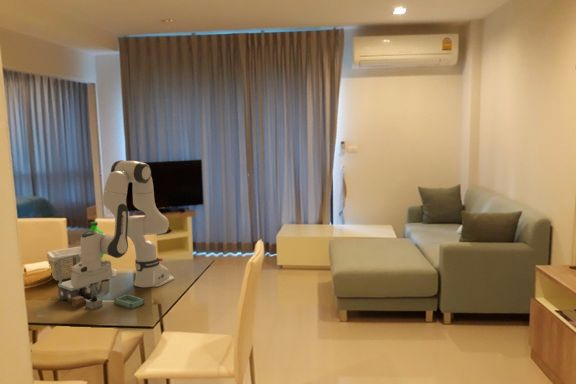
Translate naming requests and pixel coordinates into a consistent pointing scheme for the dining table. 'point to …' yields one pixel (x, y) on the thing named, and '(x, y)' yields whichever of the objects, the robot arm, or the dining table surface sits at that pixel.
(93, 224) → the plastic bottle
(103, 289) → the dining table surface
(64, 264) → the storage basket
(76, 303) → the block
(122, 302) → the tray
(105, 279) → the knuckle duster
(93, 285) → the pin
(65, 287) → the trolley
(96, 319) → the dining table surface
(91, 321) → the dining table surface
